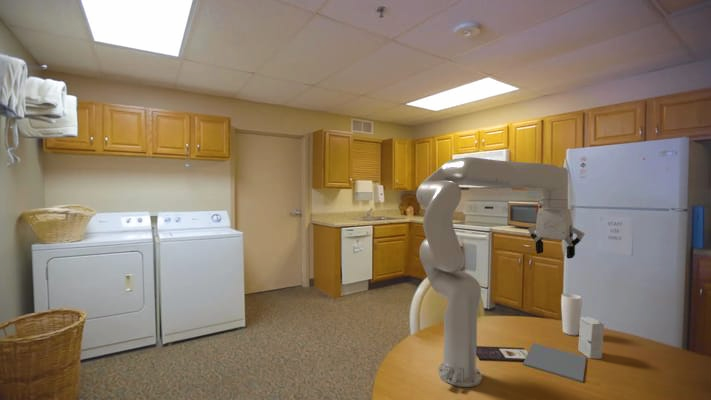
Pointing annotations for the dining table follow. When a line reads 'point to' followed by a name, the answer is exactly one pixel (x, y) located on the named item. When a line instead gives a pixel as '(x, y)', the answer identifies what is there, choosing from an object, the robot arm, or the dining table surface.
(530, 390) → the dining table surface
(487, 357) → the chocolate bar
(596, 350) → the skincare box
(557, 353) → the mat
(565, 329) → the white hollow tapered cylinder
